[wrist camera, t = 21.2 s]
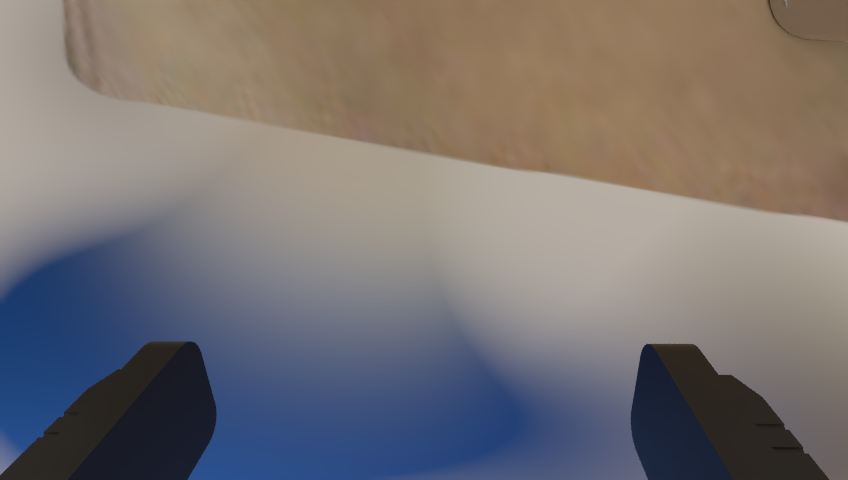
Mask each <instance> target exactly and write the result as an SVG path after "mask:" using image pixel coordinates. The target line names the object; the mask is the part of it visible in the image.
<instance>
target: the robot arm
mask: <svg viewBox="0 0 848 480" xmlns="http://www.w3.org/2000/svg"><path fill="white" fill-rule="evenodd" d="M770 6H771V9H772V12H773V15H774V17H775V19H776V20H777V22H778V23H779V25H780V26H781V27H782V28H783V29H785V30H786V31H787V32H788V33H790V34H792V35H794V36H796V37H799V38H804V39H809V40H827V41H843V42H848V0H770ZM215 425H216V405H215V401H214V397H213V394H212V390H211V386H210V383H209V379H208V376H207V372H206V368H205V365H204V361H203V358H202V354H201V351H200V349H199V347H198V345H197V344H196V343H194V342H164V341H162V342H161V341H159V342H157V341H154V342H149V343H147V344H146V345H144V346H143V347H142V348H141V349H140V350H139V351H138V352H137V353H136V355H134V356H133V358H132V359H131V360H130V361H129V362H128V363H127V364H126V365H125V366H124V367H123V368H122V369H119V370H116V371H115V372H113V373H112V374H110V375H109V376H107V377H105V378H104V379H102V380H101V381H99V382H98V383H96V384H94V385H93V386H91V387H90V388H88V389H87V390H86V391H85V392H84V393H83V394H82V395H81V396H80V397H79V398H78V399H77V400H76V401H75V402H74V403H73V404H72V405H71V406H70V407H69V408H68V409H67V410H66V411H65V412H64V416H63V417H59V418H58V419H57V420H56V421H55V422H54V423H53V424H52V425H51V426H50V427H49V428H48V429H47V430H46V431H45V432H44V436H43V437H42V438H38V439H37V440H36V441H35V442H34V443H32V444H31V445H30V446H29V447H28V448H27V449H26V450H25V452H23V453H22V454H21V455H20V456H19V458H17V459H16V461H14V463H12V464H11V465H10V466H9V467H8V468H7V469H6V470H5V471H4V472H3V473H2V474H1V475H0V480H187V479H188V478H189V476H190V474H191V473H192V471H193V469H194V468H195V466H196V464H197V463H198V461H199V459H200V457H201V456H202V454H203V452H204V451H205V449H206V447H207V446H208V444H209V442H210V440H211V438H212V436H213V433H214V429H215ZM631 430H632V437H633V442H634V445H635V449H636V451H637V454H638V456H639V459H640V461H641V463H642V466H643V468H644V471H645V473H646V476H647V478H648V480H829V479H828V478H827V476H826V475H825V474H824V473H823V471H822V470H821V469H820V468H819V466H818V465H817V464H816V463H815V461H814V460H813V459H812V458H811V457H810V455H809V454H805V453H804V451H803V447H802V445H801V444H800V443H799V442H798V441H797V439H796V438H795V437H794V436H793V434H792V433H791V432H790V431H789V430H785V428H784V423H783V422H782V421H781V420H780V418H779V417H778V416H777V415H776V413H775V412H774V411H773V410H772V408H771V407H770V406H769V405H768V404H767V402H766V401H765V400H764V399H763V397H761V396H760V395H759V394H757V393H756V392H754V391H753V390H752V389H750V388H749V387H747V386H746V385H745V384H743V383H742V382H740V381H739V380H737V379H736V378H735V377H733V376H732V375H718V374H717V372H716V371H715V370H714V368H713V367H712V366H711V364H710V363H709V362H708V360H707V359H706V358H705V356H704V355H703V353H702V352H701V351H700V349H699V348H698V347H697V346H695V345H693V344H646V345H645V346H644V347H643V349H642V352H641V356H640V362H639V368H638V374H637V380H636V386H635V392H634V398H633V404H632V410H631Z"/></svg>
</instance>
